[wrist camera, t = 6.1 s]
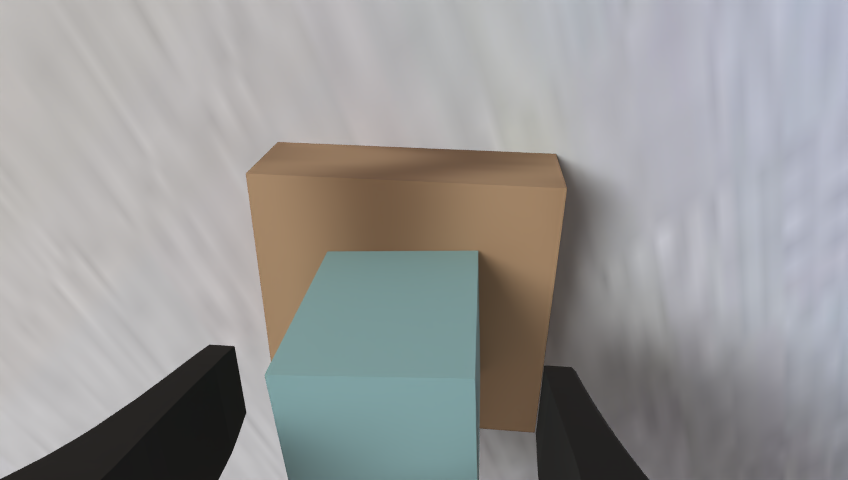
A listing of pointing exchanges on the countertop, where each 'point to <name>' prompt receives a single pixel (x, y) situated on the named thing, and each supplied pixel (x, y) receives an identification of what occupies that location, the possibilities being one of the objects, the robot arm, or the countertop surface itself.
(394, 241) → the tan wooden block
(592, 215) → the countertop surface
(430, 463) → the teal block
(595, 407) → the robot arm
